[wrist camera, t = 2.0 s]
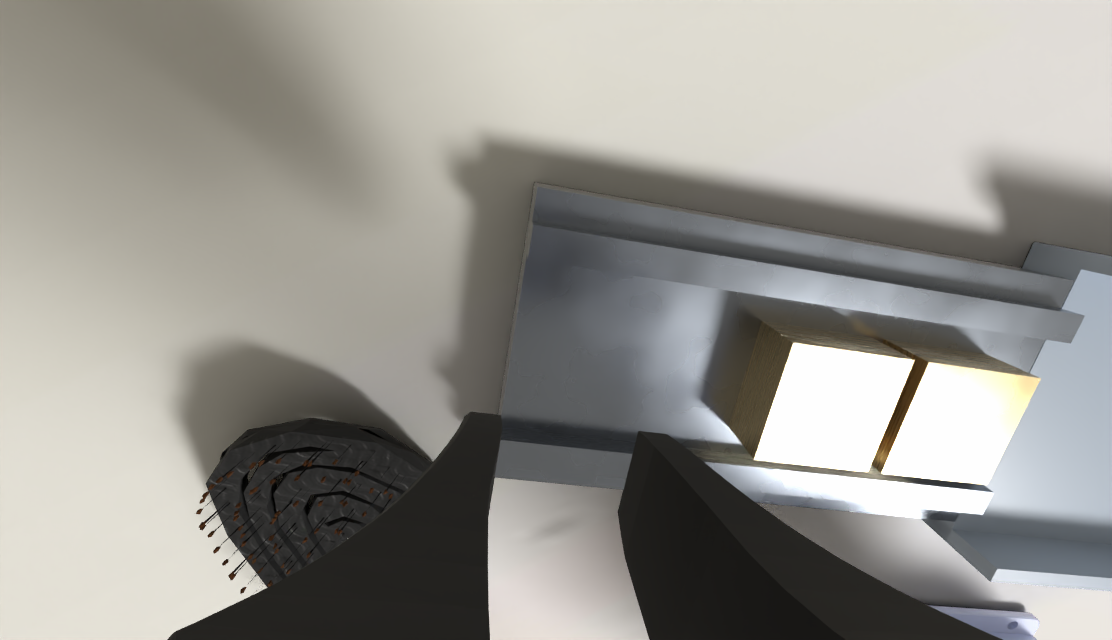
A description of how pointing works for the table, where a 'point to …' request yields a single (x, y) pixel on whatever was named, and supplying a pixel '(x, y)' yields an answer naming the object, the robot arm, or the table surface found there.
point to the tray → (1055, 452)
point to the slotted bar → (728, 340)
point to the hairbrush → (305, 490)
